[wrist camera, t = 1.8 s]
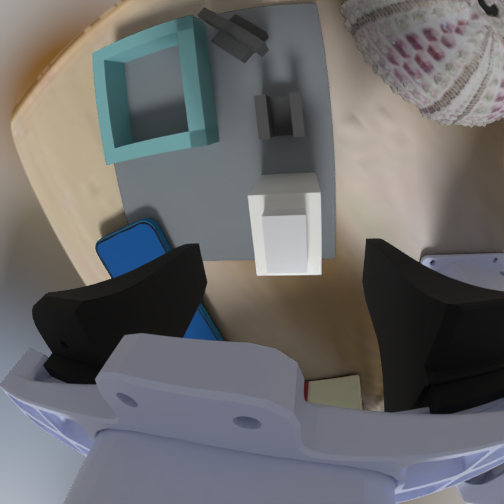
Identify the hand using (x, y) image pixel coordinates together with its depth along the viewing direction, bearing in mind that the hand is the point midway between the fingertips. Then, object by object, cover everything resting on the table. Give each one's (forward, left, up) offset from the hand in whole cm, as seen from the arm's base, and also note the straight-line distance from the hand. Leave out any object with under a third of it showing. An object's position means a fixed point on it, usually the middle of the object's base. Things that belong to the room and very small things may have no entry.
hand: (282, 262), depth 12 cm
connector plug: (0, 0, -8) cm, 8 cm away
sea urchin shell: (-11, -12, -8) cm, 19 cm away
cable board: (+5, -5, -8) cm, 11 cm away
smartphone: (+11, +8, -8) cm, 16 cm away
